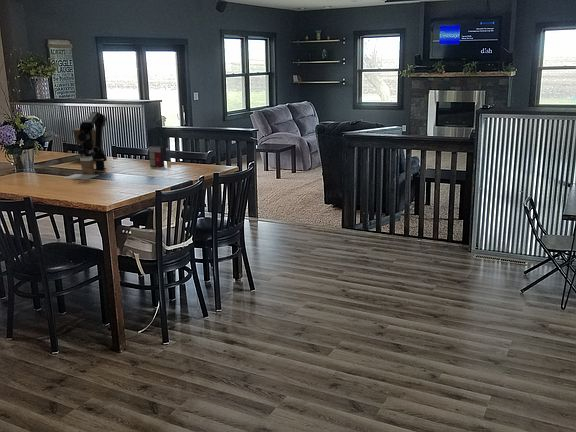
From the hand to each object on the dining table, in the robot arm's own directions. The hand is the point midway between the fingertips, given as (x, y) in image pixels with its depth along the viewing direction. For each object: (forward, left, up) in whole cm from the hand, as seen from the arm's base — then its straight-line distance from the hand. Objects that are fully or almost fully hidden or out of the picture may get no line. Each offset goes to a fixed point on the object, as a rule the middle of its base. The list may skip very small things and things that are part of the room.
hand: (90, 162), depth 403 cm
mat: (+13, 0, -8) cm, 15 cm away
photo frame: (-60, -38, -8) cm, 72 cm away
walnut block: (+3, 0, -7) cm, 8 cm away
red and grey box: (-38, +32, -8) cm, 51 cm away
